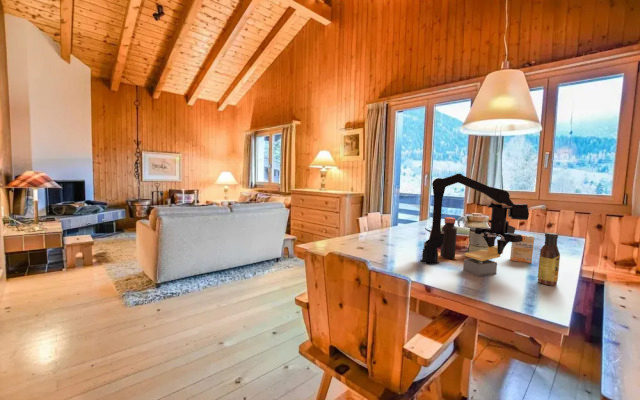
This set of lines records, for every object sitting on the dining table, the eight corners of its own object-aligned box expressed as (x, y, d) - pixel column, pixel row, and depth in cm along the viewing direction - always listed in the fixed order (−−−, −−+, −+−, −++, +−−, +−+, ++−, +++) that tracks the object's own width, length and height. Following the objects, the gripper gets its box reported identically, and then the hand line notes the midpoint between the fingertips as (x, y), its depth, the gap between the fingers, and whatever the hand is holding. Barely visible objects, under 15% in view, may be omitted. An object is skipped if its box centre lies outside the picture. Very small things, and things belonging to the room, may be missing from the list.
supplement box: (512, 261, 145) (514, 234, 144) (510, 258, 150) (512, 233, 149) (532, 263, 142) (534, 236, 141) (529, 260, 147) (531, 234, 145)
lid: (481, 261, 121) (481, 254, 121) (464, 255, 129) (464, 249, 129) (508, 255, 127) (508, 248, 127) (490, 250, 135) (491, 244, 134)
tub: (478, 276, 122) (479, 264, 122) (463, 270, 130) (463, 259, 129) (496, 274, 126) (497, 262, 125) (479, 268, 133) (480, 257, 133)
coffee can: (464, 252, 159) (466, 226, 158) (484, 253, 158) (486, 227, 157) (472, 258, 149) (474, 230, 147) (494, 259, 148) (496, 231, 146)
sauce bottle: (558, 287, 112) (563, 236, 110) (537, 284, 115) (542, 233, 113) (555, 282, 118) (561, 233, 116) (536, 279, 121) (541, 231, 119)
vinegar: (437, 255, 152) (439, 217, 150) (448, 255, 154) (451, 216, 152) (446, 259, 145) (448, 219, 143) (457, 258, 147) (460, 219, 145)
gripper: (533, 221, 123) (529, 257, 124) (492, 214, 140) (489, 247, 142) (514, 222, 119) (511, 260, 120) (475, 215, 136) (472, 248, 138)
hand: (495, 253), depth 130 cm, fingers closed on lid, 3 cm apart
